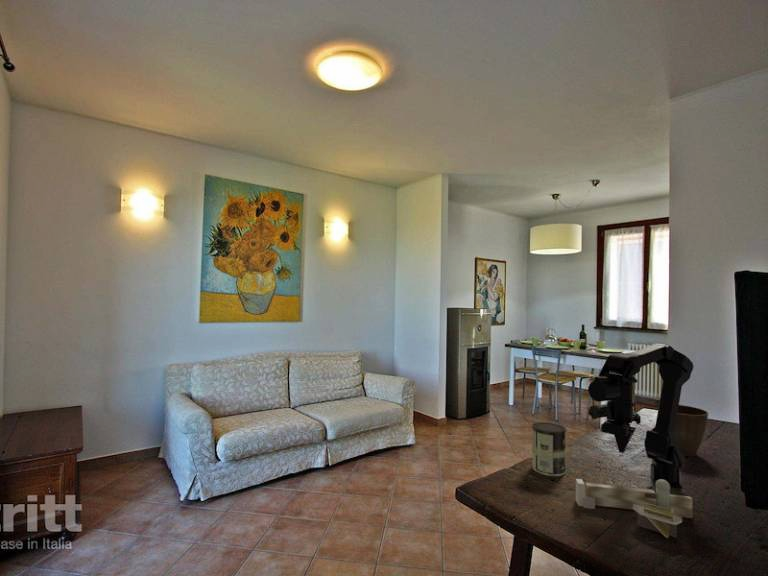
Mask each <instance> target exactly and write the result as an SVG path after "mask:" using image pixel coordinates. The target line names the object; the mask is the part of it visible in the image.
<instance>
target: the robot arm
mask: <svg viewBox="0 0 768 576" xmlns="http://www.w3.org/2000/svg"><path fill="white" fill-rule="evenodd" d="M653 363H655V364H656V365H657V366H658V374H659V375H660V378H661V380H662V385H661V392H660V397H659V404H658V406H659V408H658V407H657V414H656V421H655V425H654V427H653V428H652V429H651V430H647V431H646V432H645V439H644V441H643V443H644V449H645V454H646V457H647V459H650V460H651V462H652V463H650V475H649V477H650V478H651V479H652V480H653V481H654V482H655V483H656V481H657V480H659V479H663V480H665V481H667V482H668V483H669V485H670V487H676V488H683V485H682V484H681V483H680V481H681V480H680V479H681V478H680V471H681V470H680V469H683V468H684V467H685V466H686V460H687V458H686V456H683V454H682V453H681V452H680V450H679V441H678V439H677V436H676V434H675V425H676V419H677V413H678V407H679V405H680V399H681V393H682V390H683V389H682V388H683V386H684V384H685V383H687V382H688V381H689V380H690V378H691V375H692V372H693V371H694V370H693V369H694V362H693V361H692V360H690V358H689V357H688V356H686V355H685V354H683V353H682V352H680V351H678V350H676V349H675V348H674V347H673V346H671V345H670V344H664V343H652V344H651V345H649V346H646V347H644V348H640V349H638V350H635V351H633V352H630V353H627V352H626V353H623V352H622V353H619V352H618V353H611V354H609V355H608V356H607V358H606V360H605V362H604V364H603V366H602V368H601V369H600V372H599V374H598V375H597V376H594V380H593V381H592V382H590V383H589V385H588V387H587V390H588V394H589V397H590V398H591V399H592V400H593V401H595V402H597V403H599V402H606V403H605V404H599V405H598V404H595V405H590V406H589V408H587V409H588V412H587V413H588V415H589V416H590V417H591V420H597V419H599V418H600V419H601V418H606V420H605V421H604V422H603V423H602V424H601V425H600V432H602V433H605V434H608V435H613V436H614V439H615V442H616V445H617V449H618V452H619V453H622V454H624V453H625V451H626V449H627V447H628V445H629V443H630V442H631V439H632V437H633V435H634V434H635V431H636V429H637V428H636V427H633V426H631V424H632V423H633V422H635V423H636V425H640V424H641V423H642V422H641V421H642V420H641V415H640V414H639V413H638V412H634V407H635V405H636V403H635V401H634V384H635V383H638V379H637V378H636V377H634V376H635V375H637V374H638V373H639V372H641V368H642V367H645V366H647V365H650V364H653Z"/></svg>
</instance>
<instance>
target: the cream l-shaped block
mask: <svg viewBox="0 0 768 576" xmlns="http://www.w3.org/2000/svg"><path fill="white" fill-rule="evenodd" d="M575 501H576V504H577V506H579V507H583V508H585V509H592V510H595V509H596V505H595V499H594V498H591V497H586V483H585V482H584V481H583V479H582V478H581V479H580V478H575Z"/></svg>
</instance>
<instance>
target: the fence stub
mask: <svg viewBox="0 0 768 576" xmlns="http://www.w3.org/2000/svg"><path fill="white" fill-rule="evenodd" d="M672 510H673V515H675V516H678V517H681V518H687V519H688V518H689V519H693V517H694V516H693V498H692V497H691V496H687V495H681V494H680V495H679V494H671V493H670V513H672Z"/></svg>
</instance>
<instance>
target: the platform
mask: <svg viewBox="0 0 768 576" xmlns="http://www.w3.org/2000/svg"><path fill="white" fill-rule="evenodd" d="M646 504H648V503H646ZM654 506H655V505H652V504H649V507H648V506H647V507H648V508H647V507H645V503H644V507H643V506H640V505H636V504H633V509H634V510H633V511H635V512H636V513H637V527H641V528H644V529H647V530H650V531H653V532H657V533H659V534H661V535H663V536H664V538H667V539H669V537H673V538H676V539H677V537H678V525H680V524H681V523H683V517H678V516H675V515H673V510H672V513H669V512H666V511H663V512H661V511H662V510H661V511H657V510H659V509H657V510H654V509H655V508H654ZM657 507H659V506H657ZM661 508H662V507H661ZM664 509H666V508H664ZM668 510H669V509H668Z"/></svg>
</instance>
